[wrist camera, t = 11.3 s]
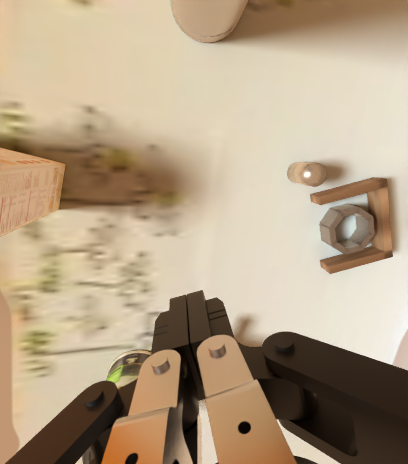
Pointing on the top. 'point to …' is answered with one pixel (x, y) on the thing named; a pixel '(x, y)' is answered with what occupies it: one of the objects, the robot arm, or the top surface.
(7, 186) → the coffeecake box
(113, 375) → the coffee can
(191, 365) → the robot arm
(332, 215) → the metal ring
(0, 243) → the top surface
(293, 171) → the beige rounded cylinder
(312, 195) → the groove block
